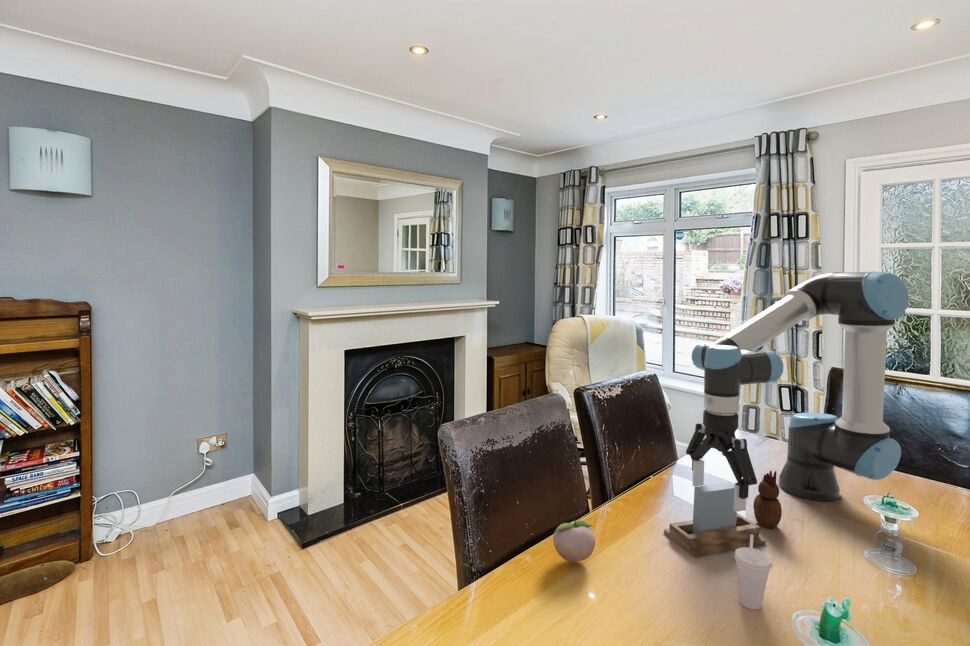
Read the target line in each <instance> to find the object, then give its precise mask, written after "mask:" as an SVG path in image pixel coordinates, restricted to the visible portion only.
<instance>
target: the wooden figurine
mask: <svg viewBox="0 0 970 646" xmlns="http://www.w3.org/2000/svg"><path fill="white" fill-rule="evenodd" d="M778 485H779V484H777V470H774V473H773V472H772V470H769V472H767V473H766V474H763V478H762V480H761V481H760V482H759V484H758V487H757V490H758V493H759V494H757V495H756V496H754V501H753V505H752V506H753V514H754V518H755V521H756V522H757V524H758V525H759V526H762V527H763V528H767V529H774V528H777V526H779V523H780V522H781V519H782V513H783V512H782V505H781V502H780V500H779V499H778V498H779V495H780V486H778Z"/></svg>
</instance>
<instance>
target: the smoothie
mask: <svg viewBox="0 0 970 646" xmlns="http://www.w3.org/2000/svg"><path fill="white" fill-rule="evenodd" d="M753 536H754V535H753V534H750V547H749V548H747V547H743V548H738V549H736V550H734V551H735V552H734V559H735V560H736V568H737V569H736V573H737V581H738V582H737V583H738V596H739V602H740V604H741V605H742V606H743V607H745V608H747V609H750V610H760V609H761V608H762V606H763V605H762V604H763V600H764V596H765V591H766V586H767V583H768V577H769V573H770V570H771V569H772V568H773V559H772V558H771V556H769V554H767V553H765V552H764V551H762V550H759V549H756V548H754V547H753Z"/></svg>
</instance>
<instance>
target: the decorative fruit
mask: <svg viewBox="0 0 970 646" xmlns="http://www.w3.org/2000/svg"><path fill="white" fill-rule="evenodd" d="M590 527H592V528H593V527H594V526H593V524H592V523H591V522H589V521H587V520H577V519H576V518H574V520H573V521H570V522H564V523H561V524H559V526H557V527H556V529H555V530H554V532H553V536H552V541H553V546H554V549H555V551H556V552H557V554H558V555H559V556H560V557H561V558H562V559H563V560H565V561H567V562H570V563H578V562H581V561H585V560H587V559H588V558H590V557H591V555H592V554H593V552H594V550H595V546H596V538H595V534H594V532H593V530H592V529H591V528H590Z"/></svg>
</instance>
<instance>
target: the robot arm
mask: <svg viewBox="0 0 970 646" xmlns="http://www.w3.org/2000/svg"><path fill="white" fill-rule="evenodd" d="M909 300H910V298H909V291H908V288H907V286H906V284H905V281H903V280H902V279H901V278H900V277H899V276H897V275H896V274H894V273H892V272H882V271H873V270H872V271H855V272H854V271H851V272H850V271H848V272H847V271H845V272H844V271H836V272H835V271H832V272H827V273H824V274H823V273H822V274H819V275H817V276H814V277H812V278H810V279H806V280H805V281H802V282H801V283H799V284H797V285H796V286H794V287H792V288H791V289H789V290H787V291H786V292H785V293H784V294H783V295H782V299H780V300H778V301H777V302H776V303H774V304H773V305H771V306H769V307H768V308H766V309H765V310H763V311H761V312H760V313H758V314H757V315H755V316H753V317H752V318H751V319H748V320H747V321H745V322H744V323H743V324H741V325H740V326H737V328H735V329H732V331H730V332H728V333H727V334H725V335H724V336H722V337H721V338H719V339H717V340H716V341H714V342H712V343H711V342H708V341H707V342H699V343H697V344H696V345H695V346H694V348H693V349H692V352H691V360H692V364H693V365H694V366H695V368H697V369H700V370H702V371H704V373H703V376H704V379H703V380H704V383H703V409H704V410H703V412H702V413H703V414H702V422H698V423H696V424H695V428H694V429H695V431H694V432H693V435H692V437H691V439H690V441H689V444H688V446H687V449H686V450H685V453H686V455H687V456H690V458H691V471H692V486H693V487H694V488H695V487H698V486H704V482H705V481H704V479H705V478H704V477H705V459H703V458H704V457H705V456H706V454H707V453H708V452H709V451H711V449H715V450H716V451H718V452H720V453H721V455H722V456H724V457H725V458H726V460H727V463H728V465H729V467H730V469H731V471H732V474H733V475H734V478H735V480H736V482H734V484H733V485H734V509H733V510H734V511H735V512H737V513H738V512H743V511H746V510H747V509H746V508H747V499H748V498H749V488H750V486H754V485H758V480H757V476H756V473H755V469H754V467H753V465H752V460H751V457H750V454H749V451H748V440H747V439H746V438H741V439H740V438H738V437H737V436H736V431H737V430H738V428H739V416H740V415H739V413H738V412H739V411H740V391H741V386H744V385H754V384H767V383H770V382H775V381H778V380H779V379H780V378H781V376H782V375H783V373H784V362H783V360H782V358H781V357H780V355H778V354H777V353H776V352H774V351H772V350H771V351H770V350H759V351H758V349H760V348H762V347H763V346H764V345H766V344H768V343H769V342H772V340H774V339H776V338H777V337H779V336H780V335H782V334H783V333H784V332H786V331H787V330H789V329H790V328H793V327H794V326H795V325H797V324H799V323H800V322H802V321H809V320H812V319H813V318H815V317H816V316H822V315H835V316H838V325H839V326H840V327H841V328H843V330H844V353H843V354H844V355H843V358H844V359H843V378H842V379H843V382H842V405H841V406H842V407H841V408H842V410H841V416H840V417H837V415H834V414H829V413H821V412H799V413H794V414H792V415H791V416H790V419H789V425H788V434H787V435H788V436H787V437H788V438H787V458H786V462H785V464H784V466H783V467H782V470H781V473H780V474H779V476H778V485H779V486H778V487H779V488H781V489H782V490H784V491H785V492H787V493H790V494H792V495H794V496H797V497H799V498H803V499H808V500H812V501H813V500H814V501H820V502H823V501H824V502H831V501H836V500H838V499H840V492H841V491H840V486H839V483H838V480H837V475H836V472H835V468H839V469H842V470H843V471H847V472H848V473H852V474H855V475H856V476H857V477H863V478H867V479H869V480H873V481H874V480H875V481H879V480H882V479H885V478H886V477H888V476H890V475H891V474H892V473H893V471H894V470H895V469H896V468H897V466H898V465H899V462H900V459H901V456H902V455H901V454H902V447H901V445H900V443H899V442H898V441H897V440H895V439H894V438H891V437H890V435H891V434H890V432H891V431H890V430H891V428H890V427H889V426H888V425H887V424H886V423H885V422H884V421H883V420H884V401H885V380H886V379H885V376H886V358H887V357H886V355H887V338H888V337H887V335H888V331H889V330H890V329H892V328H893V327H894V326H895V325H896V320H897V319H900V318H902V317H903V316H904V315H905V314H906V310H907V309H908V307H909V302H910V301H909Z"/></svg>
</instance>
